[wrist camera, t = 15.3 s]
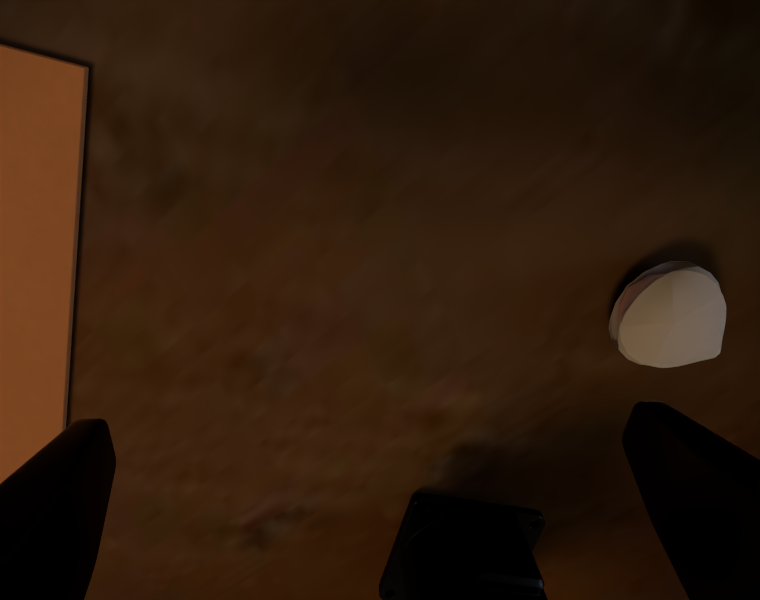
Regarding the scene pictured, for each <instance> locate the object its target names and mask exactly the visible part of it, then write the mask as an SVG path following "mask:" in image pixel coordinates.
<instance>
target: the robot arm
mask: <svg viewBox="0 0 760 600" xmlns="http://www.w3.org/2000/svg"><path fill="white" fill-rule="evenodd" d="M622 444H623V448H624V451H625V454H626V456H627V459H628V462H629V464H630V467H631V470H632V472H633V475H634V477H635V480H636V483H637V485H638V488H639V491H640V493H641V496H642V499H643V501H644V504H645V506H646V509H647V512H648V514H649V517H650V519H651V521H652V524H653V526H654V528H655V530H656V533H657V535H658V537H659V539H660V541H661V543H662V545H663V547H664V549H665V551H666V553H667V555H668V557H669V559H670V561H671V563H672V565H673V567H674V569H675V571H676V573H677V575H678V577H679V579H680V581H681V583H682V585H683V587H684V589H685V591H686V593H687V595H688V597H689V599H690V600H760V460H759V459H757V458H755V457H754V456H752V455H750V454H749V453H747V452H745V451H744V450H742V449H740V448H739V447H737V446H735V445H734V444H732V443H730V442H729V441H727V440H725V439H723V438H722V437H720V436H718V435H717V434H715V433H713V432H712V431H710V430H708V429H707V428H705V427H703V426H702V425H700V424H698V423H697V422H695V421H693V420H692V419H690V418H688V417H687V416H685V415H683V414H682V413H680V412H678V411H677V410H675V409H673V408H672V407H670V406H668V405H667V404H665V403H663V402H661V401H641V402H638V403H637V404H636V405H635V406H634V407H633V410H632V412H631V415H630V417H629V420H628V422H627V424H626V427H625V429H624V432H623V436H622ZM115 467H116V456H115V452H114V448H113V443H112V439H111V435H110V431H109V427H108V424H107V422H106V421H105V420H103V419H80V420H77V421H75V422H73V423H72V424H71V425H69V426H68V427H67V428H66V429H65V430H63V431H62V432H61V433H60V434H59V435H57V436H56V437H55V438H54V439H53V440H52V441H50V442H49V443H48V444H47V445H46V446H44V447H43V448H42V449H41V450H40V451H38V452H37V453H36V454H35V455H34V456H32V457H31V458H30V459H29V460H28V461H26V462H25V463H24V464H23V465H22V466H21V467H19V468H18V469H17V470H16V471H15V472H13V473H12V474H11V475H10V476H9V477H7V478H6V479H5V480H4V481H3V482H1V483H0V600H84V598H85V595H86V592H87V589H88V586H89V583H90V580H91V577H92V573H93V570H94V566H95V563H96V559H97V555H98V550H99V546H100V541H101V536H102V531H103V526H104V522H105V517H106V512H107V507H108V502H109V497H110V493H111V488H112V483H113V478H114V473H115ZM420 504H425V505H423V506H418V505H420ZM534 520H535V521H534ZM532 521H533V522H532ZM544 526H545V520H544V518H543V516H542V513H541V512H540V511H537V510H533V509H526V508H520V507H513V506H506V505H500V504H493V503H486V502H480V501H473V500H467V499H460V498H453V497H447V496H440V495H433V494H427V493H419V494H416V495H415V496H413V497H412V499H411V500H410V503H409V506H408V508H407V511H406V514H405V517H404V519H403V522H402V525H401V527H400V530H399V533H398V536H397V538H396V541H395V544H394V546H393V549H392V552H391V555H390V557H389V560H388V563H387V565H386V568H385V571H384V573H383V576H382V579H381V582H380V584H379V596H380V598H381V599H383V600H548V599H547V597H546V594H545V592H544V589H543V587H544V581H543V578H542V576H541V574H540V571H539V569H538V566H537V564H536V561H535V559H534V556H533V554H532V550H533V548H534V546H535V544H536V542H537V540H538V538H539V536H540V534H541V532H542V530H543V528H544Z"/></svg>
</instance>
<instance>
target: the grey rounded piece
mask: <svg viewBox="0 0 760 600" xmlns="http://www.w3.org/2000/svg"><path fill="white" fill-rule="evenodd" d="M725 322H726V304H725V301H724V297H723V295H722V293H721V291H720V286H719V283H718V282H717V280H716V279H715V278H714V277H713V275H712V274H711V273H710V272H708V271H706V270H705V269H703V268H701V267H699V266H697V265H695V264H693V263H691V262H686V261H669V262H666V263H663V264H660V265H658V266H656V267H654V268H652V269H649V270H647V271H645V272H643V273H642V274H641V275H640V276H639V277H637V278H636V279H635V280H634V281H632V282H631V283H630V284H628V285H626V287H625V289H624V291H623V293H622V294H621V295H620V297H619V298H618V300H617V301H616V303H615V306H614V308H613V311H612V314H611V317H610V322H609V332H610V336H611V339H612V343H613V344H614V346H615V347H616V348H617V349H618V350H619V351H620V352H621V353H622V354H623V355H624V356H625V357H626V358H627V359H629V360H631V361H633V362H635V363H637V364H641V365H649V366H653V367H660V368H669V367H677V366H682V365H686V364H690V363H694V362H698V361H702V360H707V359H711V358H715V357H716V356H717V355H718V354H719V353H720V351H721V345H722V337H723V333H724V328H725Z"/></svg>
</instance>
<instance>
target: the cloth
mask: <svg viewBox="0 0 760 600" xmlns="http://www.w3.org/2000/svg"><path fill="white" fill-rule="evenodd" d="M88 73H89V68H88V67H86V66H82V65H79V64H75V63H71V62H67V61H64V60H60V59H56V58H52V57H48V56H45V55H41V54H37V53H33V52H30V51H26V50H22V49H18V48H14V47H11V46H7V45H3V44H0V483H1V482H3V481H4V480H5V479H6V478H7V477H9V476H10V475H11V474H12V473H13V472H15V471H16V470H17V469H18V468H19V467H21V466H22V465H23V464H24V463H25V462H26V461H28V460H29V459H30V458H31V457H32V456H34V455H35V454H36V453H37V452H38V451H40V450H41V449H42V448H43V447H44V446H46V445H47V444H48V443H49V442H50V441H52V440H53V439H54V438H55V437H56V436H57V435H59V434H60V433H61V432H62V431H63V430H65V429H66V419H67V404H68V388H69V372H70V356H71V341H72V325H73V309H74V293H75V278H76V262H77V246H78V231H79V215H80V199H81V183H82V168H83V152H84V136H85V120H86V105H87V89H88Z"/></svg>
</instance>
